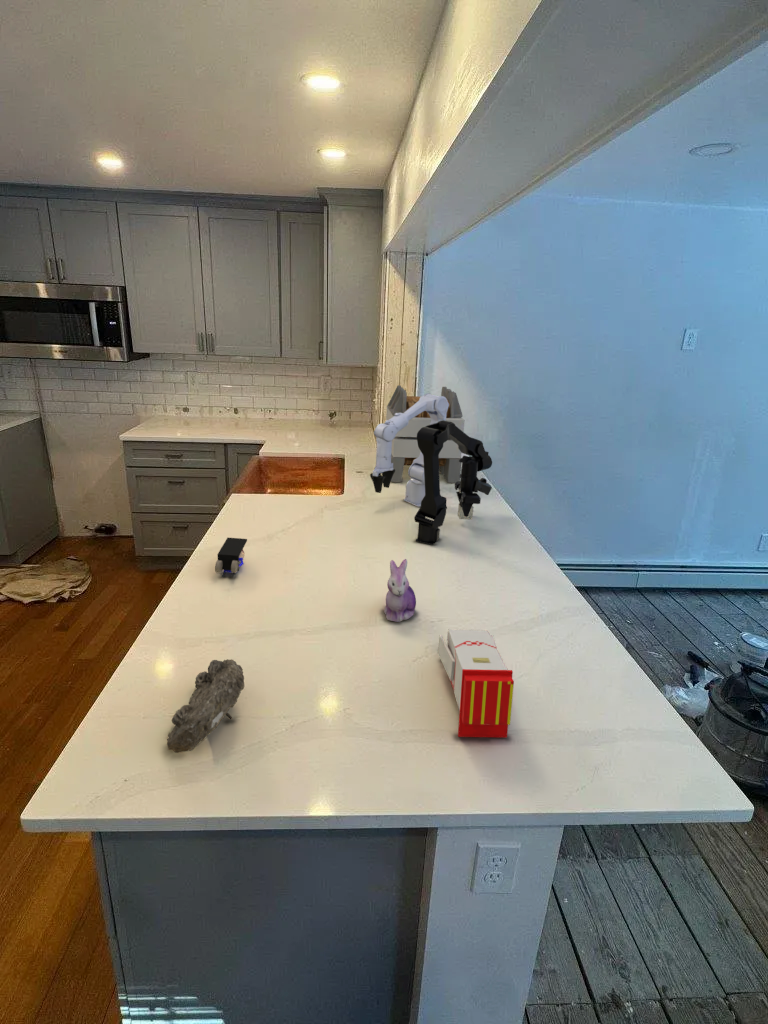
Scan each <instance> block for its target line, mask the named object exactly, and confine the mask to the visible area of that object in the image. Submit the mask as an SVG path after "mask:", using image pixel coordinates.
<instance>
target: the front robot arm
mask: <svg viewBox="0 0 768 1024" xmlns="http://www.w3.org/2000/svg"><path fill="white" fill-rule="evenodd" d="M449 438H450V439H451V440H452V441H454V442H455V443H456V444H458V448H459V450H460V451H461V452H462V453H461V454H463V456H461V459H460V460H459V462H461V474H460V481H457V482H456V483H454V490H455V491H456V492H455V493H456V496H457V499H458V502H459V503H461V505H462V509H463V513H464V516H465V517H467V516H468V514H469V512H470V509H471V507H472V506H473V505H480V504H481V500H482V499H481V497H480V495H479V494H478V492H480V493H483V494H485V495H486V496H489V495H490V492H491V491H492V489H493V486H492V485H491V484H490V483H489V482H487V478H485V477H480V478H478V472H482V471H485V470H489V469H491V468H492V466H493V459H492V457H491V456H490V455H489V451H487V450H486V449H485V446H484V443H483V441H482V440H480V439H478V438H474V437H472V436H469V435H468V434H467V433H465V431H464V432H463V431H462V430H460V429H459V428H458V427H457V426H455V424H454V423H453V422H450V421H445V420H442V421H439V422H437V423H435V424H431V425H427V426H425V427H422V428H421V429H420V430H419V431H418V433H417V443H418V447H419V449H420V451H421V452H422V454H423V459H424V466H423V467H424V479H425V496H424V498H423V499H422V501H421V506H419V509H418V511H417V512H416V513H415V515H414V516H413V518H414V522H415V523H418V527H417V538H416V539H415V542H417V543H421V544H425V545H430V546H435V544H436V543H437V542H438V541H439V540H440V532H441V528H439V527H442V526H443V525H444V522H445V518H446V516H447V509H448V506H447V500H448V499H447V497H446V496H442V495H441V483H440V471H439V453H440V451H441V450H442V448H443V443H444V442H446V441H447V440H448V439H449ZM459 503H458V504H459Z"/></svg>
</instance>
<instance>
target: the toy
mask: <svg viewBox="0 0 768 1024" xmlns="http://www.w3.org/2000/svg"><path fill="white" fill-rule="evenodd" d="M446 640H447V643H446V641H445V639H444V636H443V635H442V634H439V637H438V646H437V656H438V657H439V659H440V661H441V663H442V666H443V668H444V670H445V672H446V674H447V677H448V679H449V681H450V684H451V687H452V690H453V693H454V697H455V701H456V705H457V708H458V711H459V714H458V715H459V716H458V730H457V731H458V732H457V737H458V738H508V731H509V726H510V725H511V717H512V707H513V697H514V696H513V695H514V684H515V680H514V679H513V673H514V671H513V670H512V669H508V667H507V665H506V662H505V661H504V659H503V658H502V655H501V653H500V651H499V649H498V647H497V643H496V639H495V637H494V635H493V634H491V632H490V631H489V629H467V628H466V629H465V628H463V629H461V628H460V629H459V628H448V630H447V639H446Z"/></svg>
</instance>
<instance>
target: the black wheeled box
mask: <svg viewBox="0 0 768 1024" xmlns="http://www.w3.org/2000/svg"><path fill="white" fill-rule="evenodd" d="M247 542H248V538H240V537H226V539H225V541H224V543H223V544H222V546H221V547H220V549H219V551H218V552H217V560H216V562H215V564H214V572H215V573H221V577H222V578H224V577H225V576H226V574H227V573H230V574H231V573H232V574H231V578H234V577H235V575H236V573H237V572H239V571H240V567H242V566H243V565H244V564H245V562H244V558H245V551H244V547H245V546H246V544H247Z"/></svg>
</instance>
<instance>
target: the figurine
mask: <svg viewBox="0 0 768 1024" xmlns="http://www.w3.org/2000/svg"><path fill="white" fill-rule="evenodd" d="M407 567H408V559H406V558H404V559H403V560H402V561H401V563H400V565H399V566H398V565H397V563H396V562H395V561H394V560H393V559H391V560H390V561H389V570H390V576H389V578H388V579H387V589H388V591H387V592H386V594H385V595H386V596H385V607H384V615H385V616H386V620H387V621H391V622H395V623H400V622H402V621H406V620H409V619H410V618H411V617H413V616H414V615H415V610H416V606H417V597H416V593H415V591H414V590H413V587H411V586H410V582H409V579H408V577H407V574H406V571H407Z"/></svg>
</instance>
